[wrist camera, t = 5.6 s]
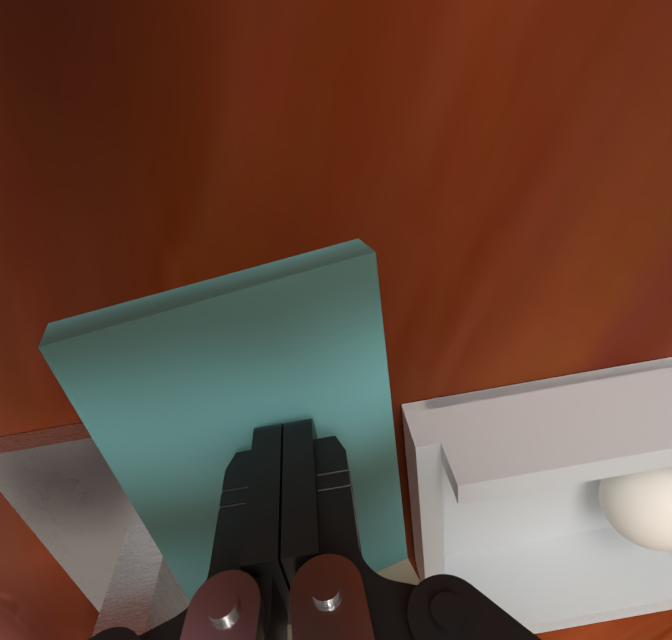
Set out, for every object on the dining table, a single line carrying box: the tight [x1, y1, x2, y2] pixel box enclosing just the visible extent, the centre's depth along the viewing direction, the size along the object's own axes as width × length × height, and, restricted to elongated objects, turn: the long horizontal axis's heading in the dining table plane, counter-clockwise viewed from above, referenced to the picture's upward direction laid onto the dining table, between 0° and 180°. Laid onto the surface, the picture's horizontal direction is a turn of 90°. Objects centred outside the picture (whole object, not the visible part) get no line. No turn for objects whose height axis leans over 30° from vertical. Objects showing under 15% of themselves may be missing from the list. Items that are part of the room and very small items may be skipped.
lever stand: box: [0, 423, 190, 637], centre depth 20 cm, size 16×10×6 cm, turn 8°
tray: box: [401, 357, 672, 634], centre depth 21 cm, size 12×14×4 cm
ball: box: [599, 467, 672, 551], centre depth 20 cm, size 4×4×4 cm
